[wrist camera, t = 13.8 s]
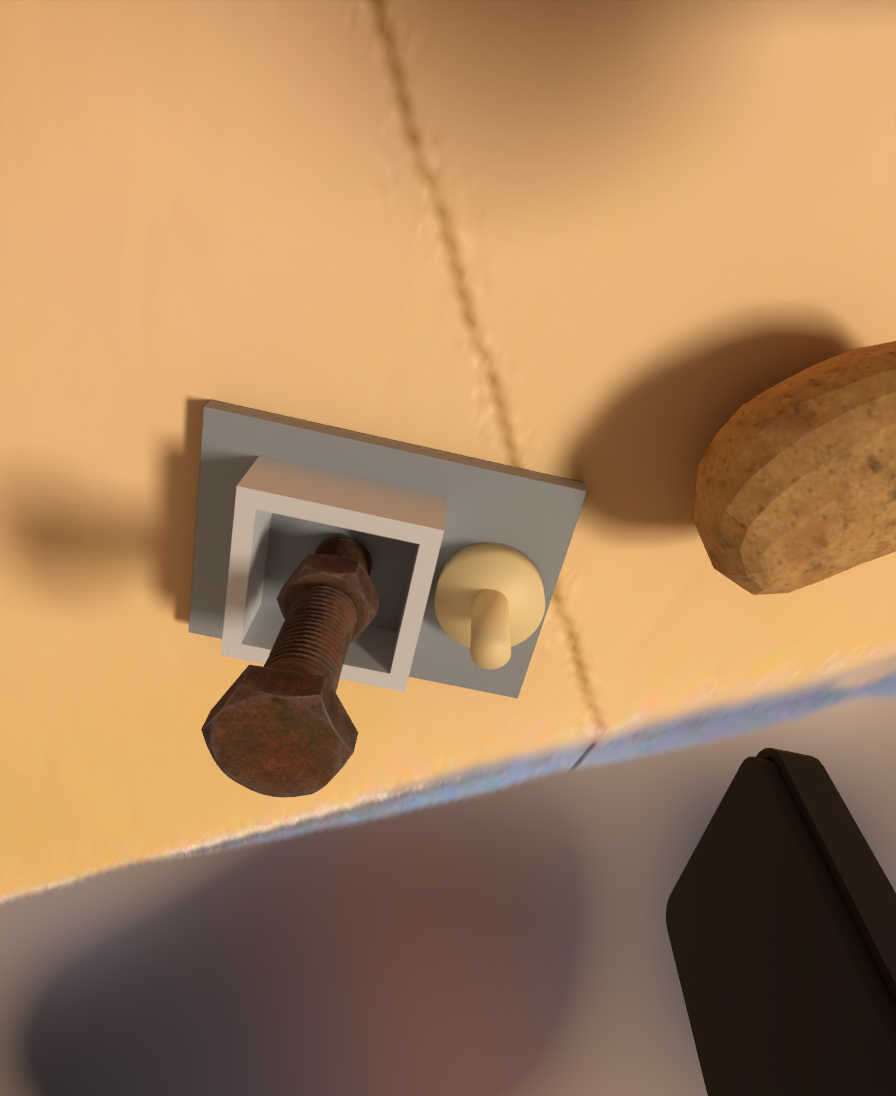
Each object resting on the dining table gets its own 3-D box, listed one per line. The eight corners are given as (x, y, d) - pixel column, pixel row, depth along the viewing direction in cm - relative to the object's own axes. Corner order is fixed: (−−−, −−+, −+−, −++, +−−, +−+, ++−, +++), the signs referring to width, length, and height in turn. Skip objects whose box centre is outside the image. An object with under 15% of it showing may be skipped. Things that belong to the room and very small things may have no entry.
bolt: (336, 493, 39) (258, 665, 26) (412, 548, 40) (374, 737, 27) (277, 567, 41) (178, 759, 28) (351, 616, 43) (289, 822, 29)
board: (584, 482, 40) (604, 543, 33) (516, 685, 46) (522, 770, 40) (211, 399, 38) (157, 447, 32) (195, 620, 45) (148, 697, 38)
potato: (976, 420, 37) (1092, 480, 30) (731, 575, 42) (781, 659, 35) (886, 264, 34) (992, 291, 27) (631, 451, 39) (666, 515, 32)
